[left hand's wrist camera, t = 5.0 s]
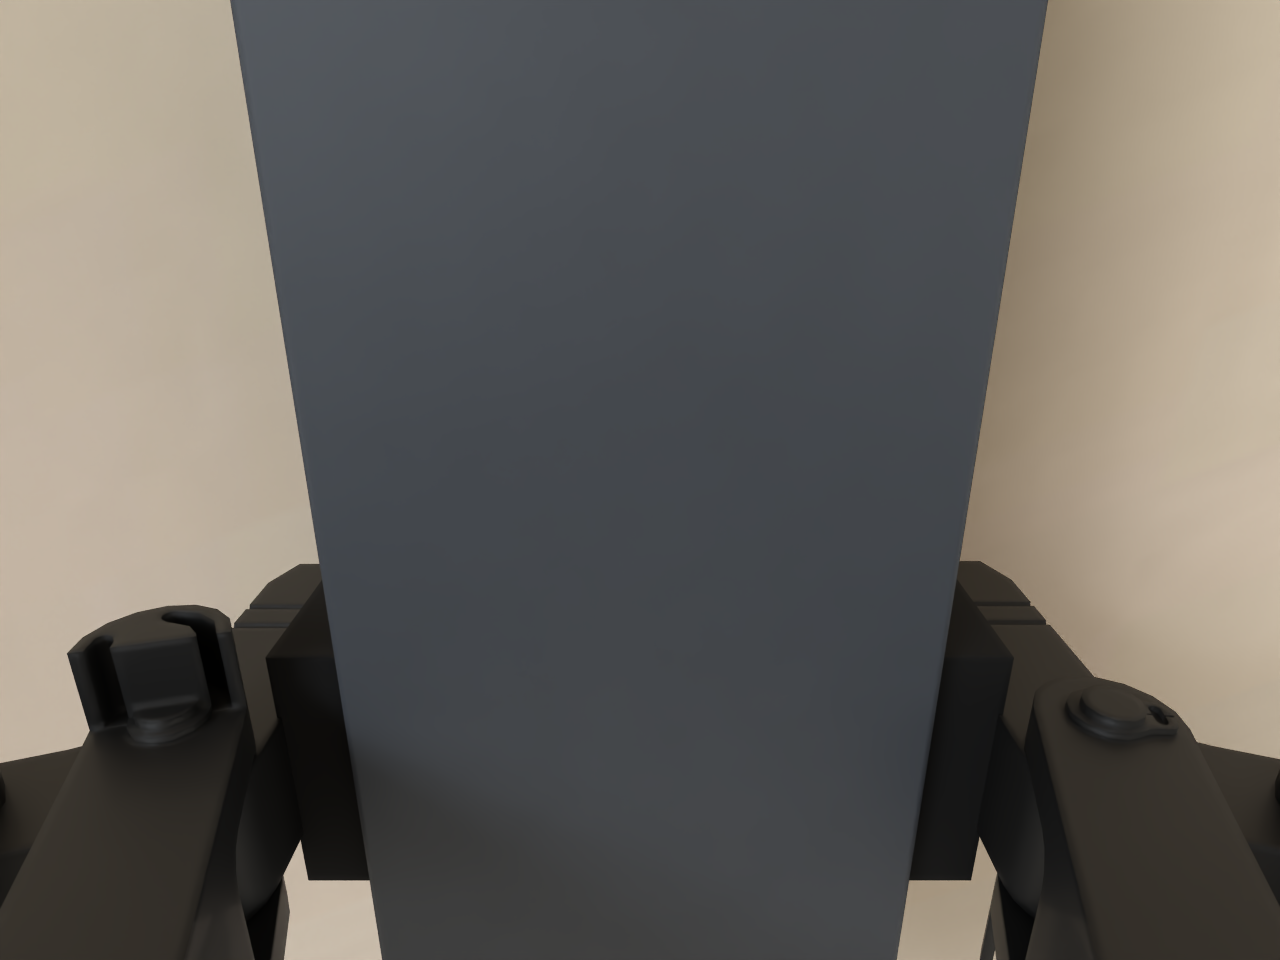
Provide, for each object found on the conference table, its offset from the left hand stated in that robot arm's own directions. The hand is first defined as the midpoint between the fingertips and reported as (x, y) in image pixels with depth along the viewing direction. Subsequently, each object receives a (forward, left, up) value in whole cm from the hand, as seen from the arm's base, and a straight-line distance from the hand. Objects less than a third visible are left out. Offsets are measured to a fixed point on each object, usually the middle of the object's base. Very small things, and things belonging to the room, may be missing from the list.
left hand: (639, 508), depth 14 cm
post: (+17, +12, 0) cm, 21 cm away
